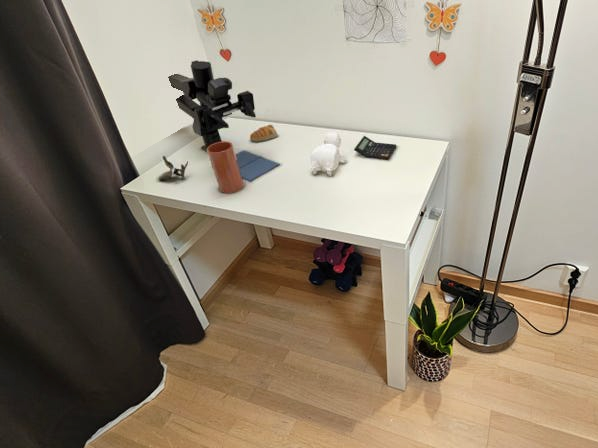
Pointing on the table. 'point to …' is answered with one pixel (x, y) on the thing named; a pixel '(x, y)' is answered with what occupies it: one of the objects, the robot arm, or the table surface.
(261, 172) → the napkin
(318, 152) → the white lumpy rounded figurine
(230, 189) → the pencil cup
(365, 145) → the calculator
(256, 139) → the pastry
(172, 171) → the eagle figurine
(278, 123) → the table surface
